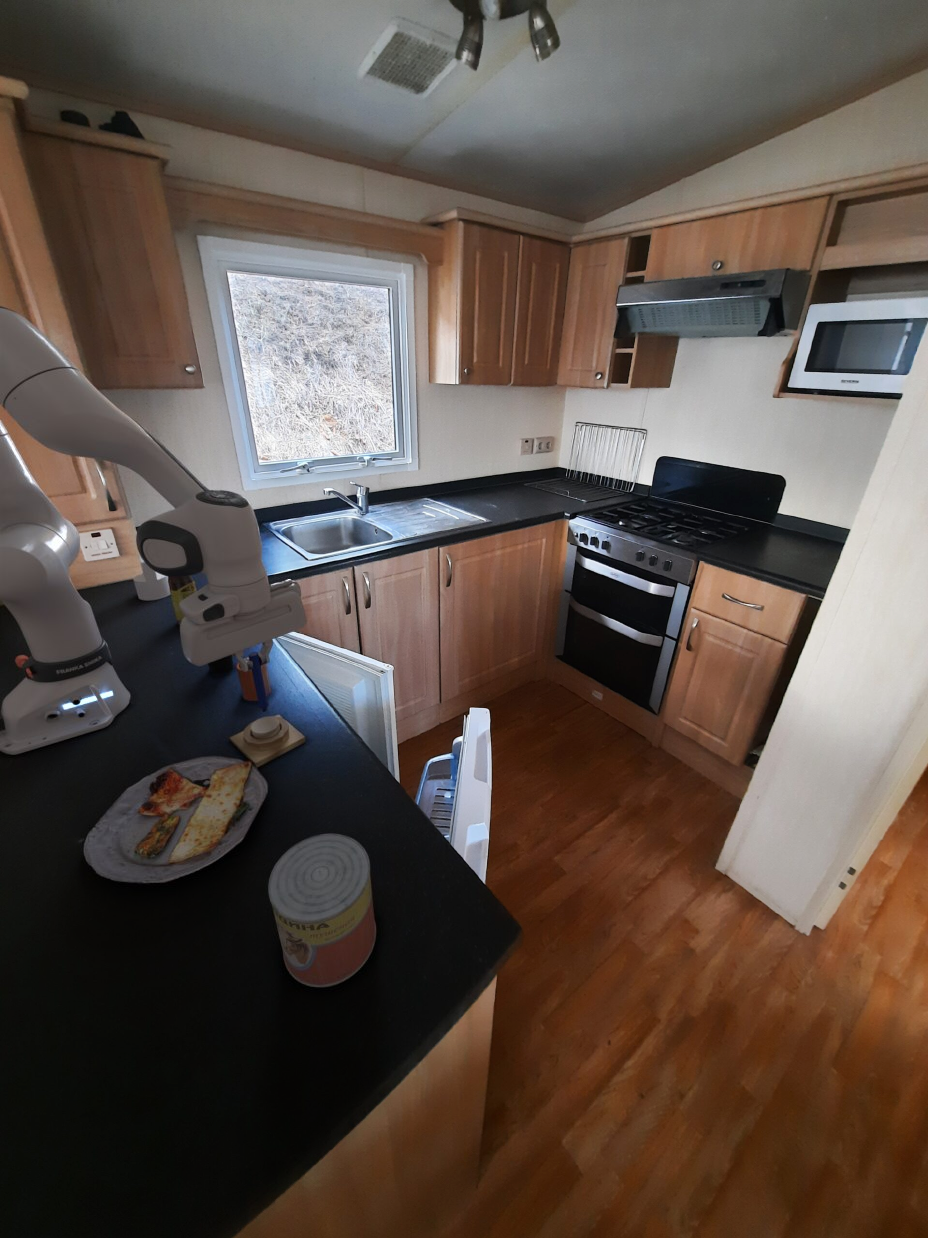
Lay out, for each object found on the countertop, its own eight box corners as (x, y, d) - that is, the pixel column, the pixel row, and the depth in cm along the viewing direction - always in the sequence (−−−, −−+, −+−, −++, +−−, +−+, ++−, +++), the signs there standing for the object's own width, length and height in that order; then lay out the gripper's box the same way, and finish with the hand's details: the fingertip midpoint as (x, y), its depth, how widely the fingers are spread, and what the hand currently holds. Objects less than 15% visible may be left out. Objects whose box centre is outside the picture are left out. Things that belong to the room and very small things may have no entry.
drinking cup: (198, 670, 118) (178, 592, 109) (231, 658, 123) (214, 582, 114) (212, 683, 113) (193, 602, 104) (245, 670, 118) (229, 592, 109)
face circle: (260, 743, 92) (258, 737, 91) (247, 731, 95) (245, 724, 94) (285, 731, 95) (284, 724, 94) (272, 719, 98) (270, 713, 97)
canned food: (263, 953, 62) (246, 888, 56) (330, 881, 70) (321, 819, 65) (330, 1008, 56) (318, 943, 51) (394, 924, 65) (389, 860, 60)
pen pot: (251, 706, 106) (244, 674, 103) (238, 695, 110) (231, 663, 106) (276, 694, 110) (271, 663, 106) (263, 684, 113) (257, 653, 110)
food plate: (158, 762, 91) (153, 746, 89) (287, 766, 90) (284, 751, 89) (53, 890, 68) (44, 873, 67) (223, 897, 68) (218, 880, 66)
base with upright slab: (173, 596, 155) (164, 559, 150) (139, 602, 151) (128, 564, 146) (169, 586, 162) (160, 550, 157) (137, 592, 158) (126, 555, 152)
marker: (262, 714, 91) (251, 657, 86) (258, 711, 92) (246, 653, 87) (271, 710, 92) (259, 653, 87) (266, 707, 93) (255, 650, 88)
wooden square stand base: (256, 768, 90) (253, 755, 88) (230, 742, 96) (227, 729, 94) (306, 741, 96) (304, 729, 95) (279, 719, 102) (277, 706, 101)
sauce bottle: (192, 628, 137) (175, 558, 128) (172, 626, 138) (153, 556, 129) (208, 618, 143) (192, 550, 134) (188, 615, 144) (172, 548, 135)
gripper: (289, 571, 91) (299, 639, 97) (167, 606, 77) (188, 682, 83) (308, 581, 87) (317, 651, 93) (183, 619, 73) (204, 697, 80)
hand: (255, 666), depth 88 cm, fingers closed on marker, 1 cm apart
